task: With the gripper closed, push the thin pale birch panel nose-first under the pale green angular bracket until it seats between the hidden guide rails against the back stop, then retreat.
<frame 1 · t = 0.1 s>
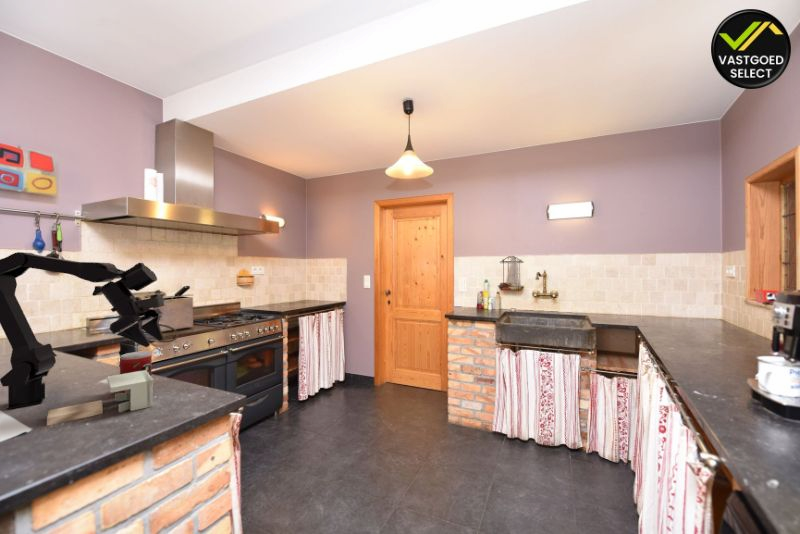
hand: (155, 343, 103), 15 cm above the countertop, tool tilted 35°, fingers open, 9 cm apart
panel: (76, 417, 87), on the countertop
pale green angular bracket: (132, 403, 95), on the countertop
canned food: (136, 390, 106), on the countertop
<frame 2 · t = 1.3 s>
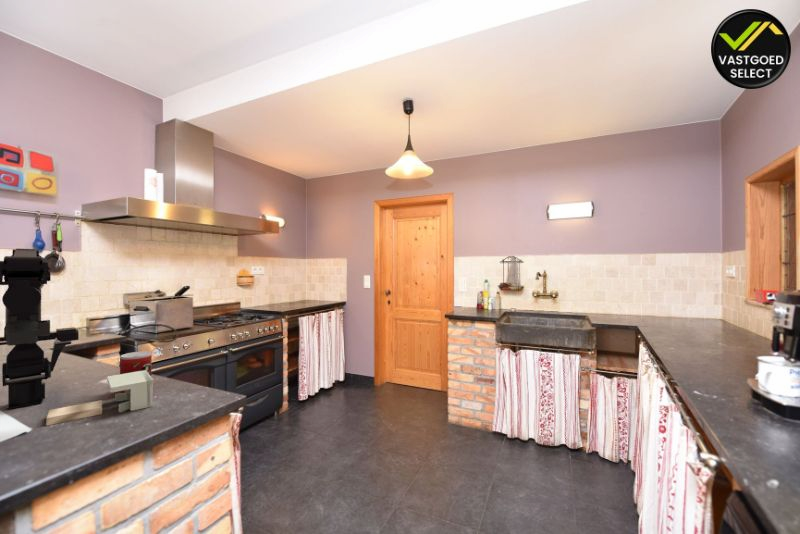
hand: (23, 375, 81), 12 cm above the countertop, tool pointing down, fingers open, 9 cm apart
nothing on the countertop moved.
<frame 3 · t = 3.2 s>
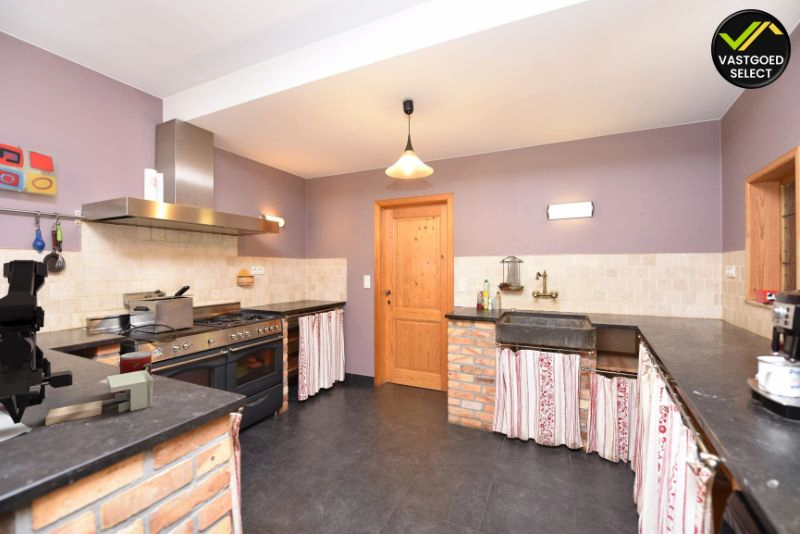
hand: (17, 423, 80), 1 cm above the countertop, tool pointing down, fingers closed
nothing on the countertop moved.
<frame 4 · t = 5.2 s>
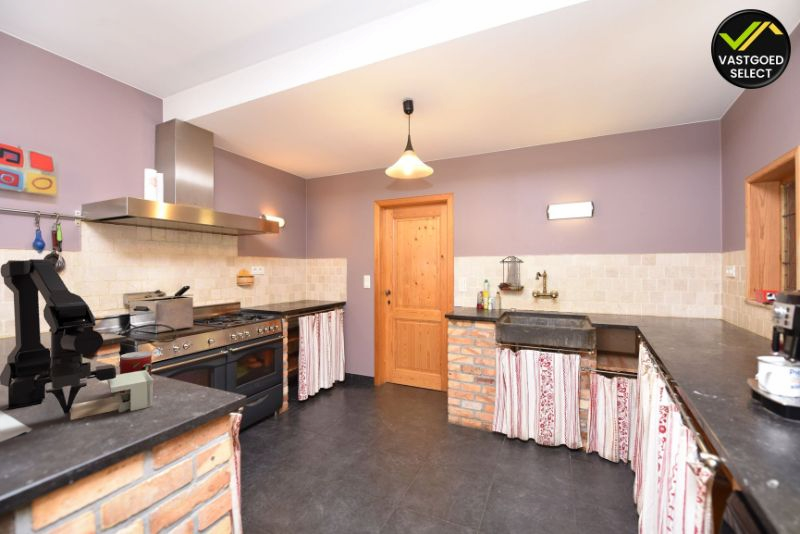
hand: (66, 413, 86), 1 cm above the countertop, tool pointing down, fingers closed
panel: (97, 411, 91), on the countertop
everything else where it was.
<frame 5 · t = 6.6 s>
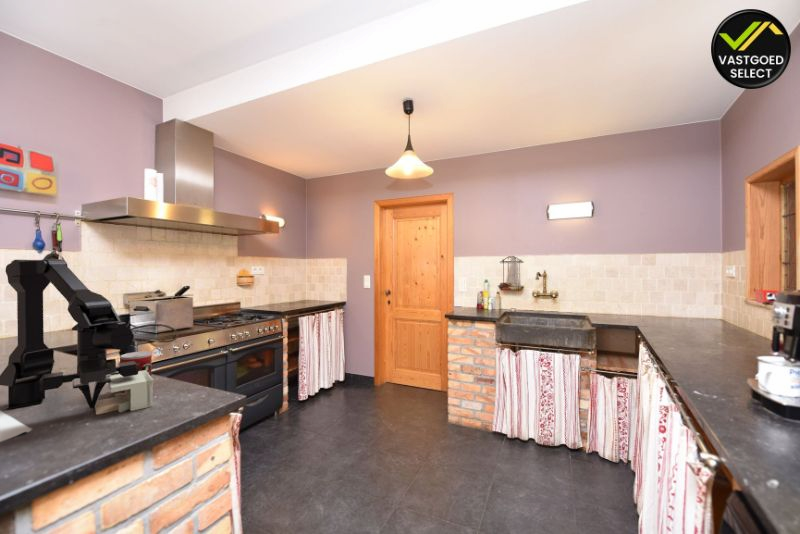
hand: (92, 407, 89), 1 cm above the countertop, tool pointing down, fingers closed
panel: (120, 407, 94), on the countertop
everything else where it was.
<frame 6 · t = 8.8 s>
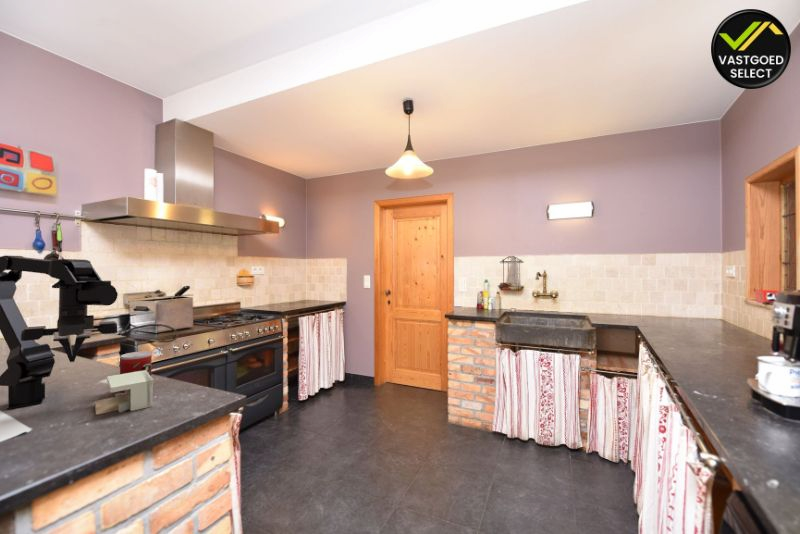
hand: (72, 361, 94), 12 cm above the countertop, tool pointing down, fingers closed
nothing on the countertop moved.
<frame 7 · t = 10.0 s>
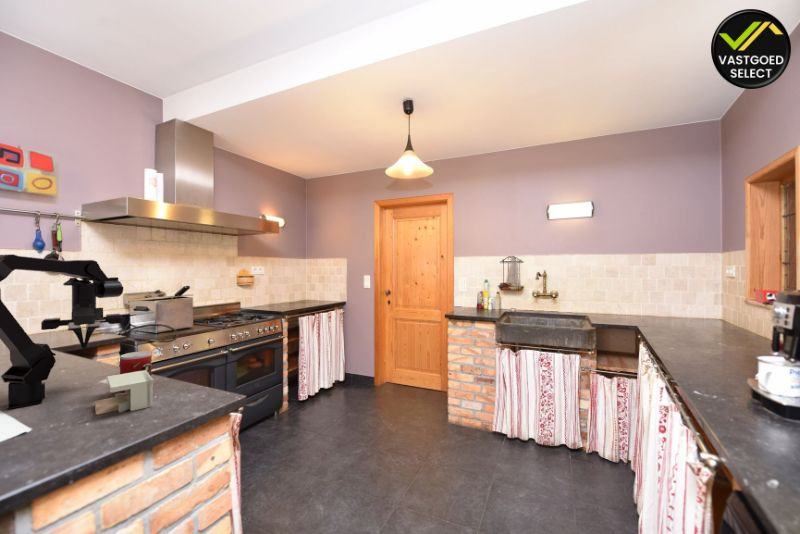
hand: (84, 348, 109), 12 cm above the countertop, tool pointing down, fingers closed
nothing on the countertop moved.
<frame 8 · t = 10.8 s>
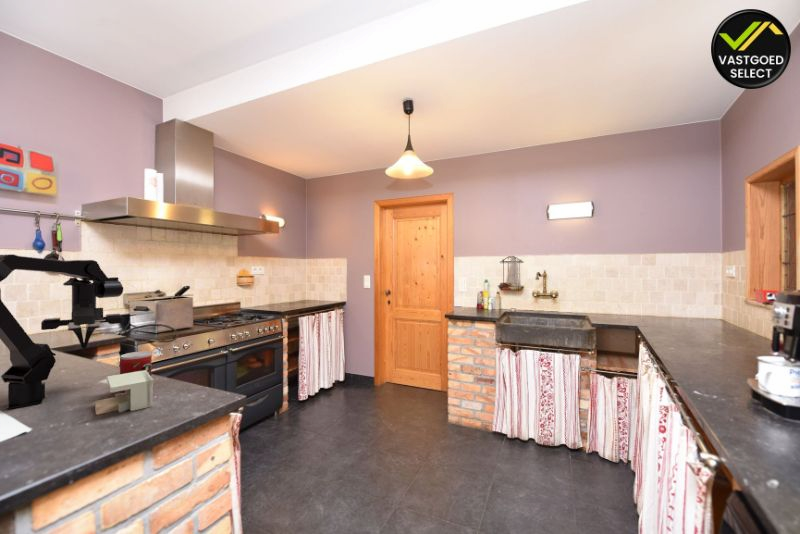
hand: (84, 348, 109), 12 cm above the countertop, tool pointing down, fingers closed
nothing on the countertop moved.
at the end: panel 0.2 cm from the target spot on the pale green angular bracket, point -0.5 cm above the pale green angular bracket's base; panel tilted 0° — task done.
